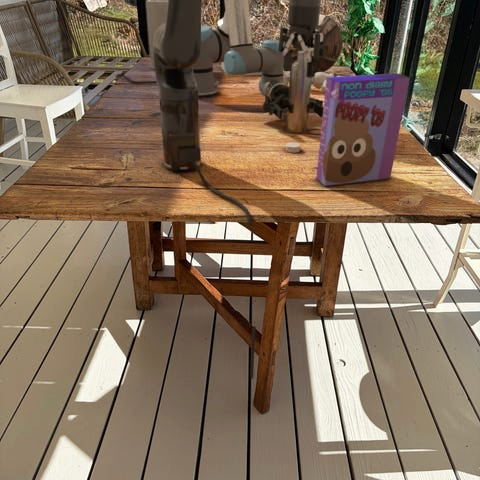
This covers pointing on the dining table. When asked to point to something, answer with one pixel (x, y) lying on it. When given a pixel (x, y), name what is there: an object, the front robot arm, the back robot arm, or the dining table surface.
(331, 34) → the sphere
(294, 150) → the cap
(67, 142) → the dining table surface
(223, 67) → the disc drive
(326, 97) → the cereal box
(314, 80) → the toy
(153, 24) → the tall grey upright box
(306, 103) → the bottle
